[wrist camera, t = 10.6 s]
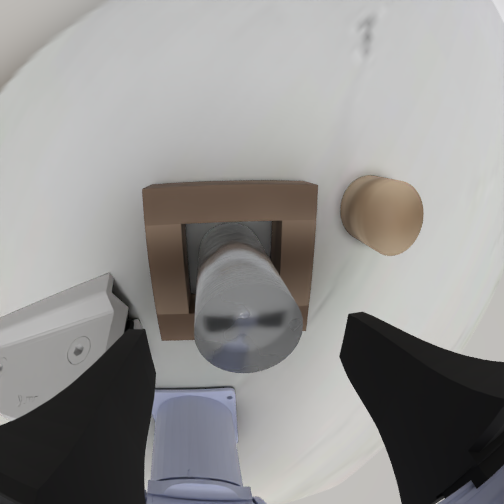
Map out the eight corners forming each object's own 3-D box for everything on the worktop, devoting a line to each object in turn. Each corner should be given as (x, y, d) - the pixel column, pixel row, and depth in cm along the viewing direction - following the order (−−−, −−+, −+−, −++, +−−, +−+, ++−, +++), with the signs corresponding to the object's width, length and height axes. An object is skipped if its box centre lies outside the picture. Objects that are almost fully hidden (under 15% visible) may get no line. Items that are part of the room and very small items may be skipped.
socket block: (295, 311, 20) (305, 330, 18) (166, 319, 19) (161, 340, 17) (303, 181, 17) (317, 185, 15) (151, 184, 16) (142, 188, 14)
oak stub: (390, 239, 20) (417, 254, 17) (337, 240, 19) (361, 257, 16) (396, 178, 18) (426, 184, 15) (342, 172, 18) (368, 177, 14)
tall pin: (261, 222, 18) (309, 281, 9) (258, 279, 19) (296, 368, 11) (198, 222, 17) (190, 285, 9) (199, 280, 19) (198, 375, 10)
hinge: (114, 270, 17) (100, 411, 10) (145, 312, 20) (151, 435, 13) (-9, 321, 17) (-32, 411, 9) (21, 349, 20) (7, 434, 12)
